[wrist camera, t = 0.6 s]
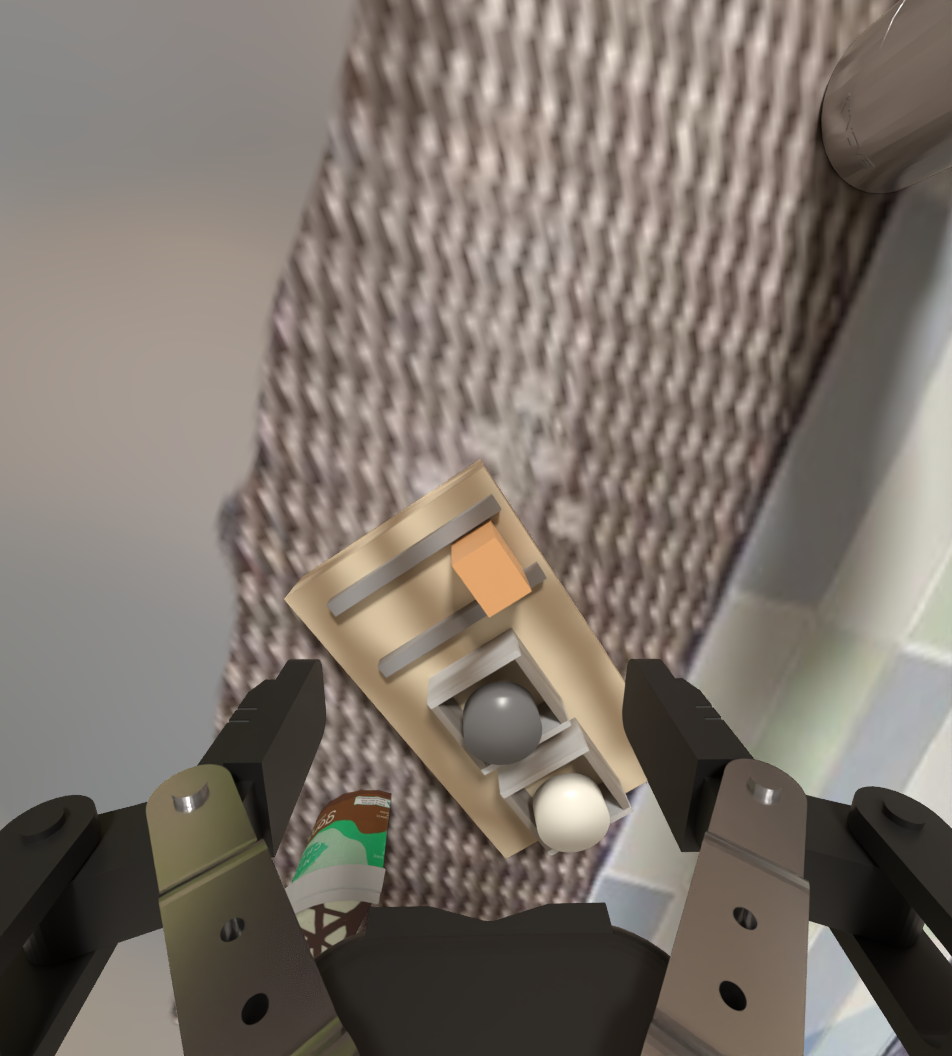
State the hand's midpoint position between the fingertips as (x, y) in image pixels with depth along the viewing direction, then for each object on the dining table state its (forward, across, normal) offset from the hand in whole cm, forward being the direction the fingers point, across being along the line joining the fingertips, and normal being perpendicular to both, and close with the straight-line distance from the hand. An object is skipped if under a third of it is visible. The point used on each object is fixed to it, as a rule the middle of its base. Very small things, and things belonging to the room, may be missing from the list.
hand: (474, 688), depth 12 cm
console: (+23, -2, +13) cm, 27 cm away
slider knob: (+19, -1, +3) cm, 19 cm away
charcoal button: (+16, -2, +13) cm, 21 cm away
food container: (+23, +11, +30) cm, 39 cm away
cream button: (+16, -7, +21) cm, 27 cm away
